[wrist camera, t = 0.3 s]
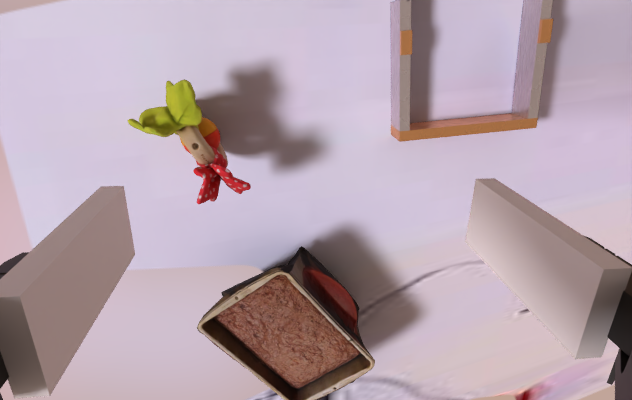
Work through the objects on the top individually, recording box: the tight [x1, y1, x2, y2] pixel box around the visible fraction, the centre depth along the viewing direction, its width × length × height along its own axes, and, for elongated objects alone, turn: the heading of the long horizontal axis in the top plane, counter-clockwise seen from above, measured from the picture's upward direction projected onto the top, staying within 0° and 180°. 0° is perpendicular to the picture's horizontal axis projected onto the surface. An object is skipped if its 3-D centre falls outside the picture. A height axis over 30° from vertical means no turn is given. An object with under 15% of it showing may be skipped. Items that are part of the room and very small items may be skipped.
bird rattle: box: [128, 80, 251, 204], centre depth 37 cm, size 6×11×9 cm, turn 39°
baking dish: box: [197, 247, 375, 400], centre depth 45 cm, size 14×18×10 cm
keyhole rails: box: [390, 0, 553, 141], centre depth 38 cm, size 22×16×3 cm
